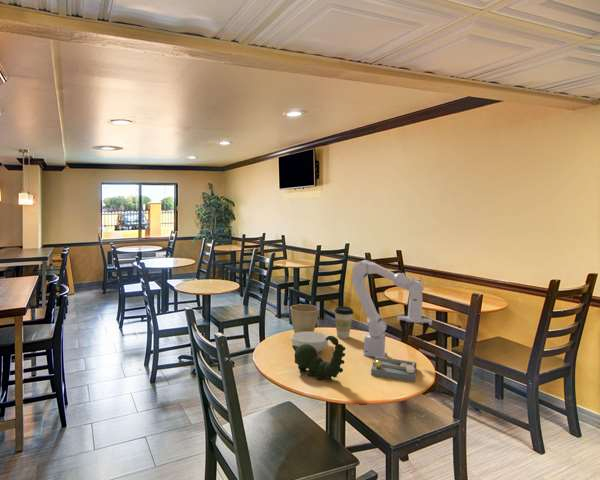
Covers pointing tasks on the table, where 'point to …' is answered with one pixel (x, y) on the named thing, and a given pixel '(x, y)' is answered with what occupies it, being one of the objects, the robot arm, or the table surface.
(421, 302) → the robot arm
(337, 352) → the toy figurine
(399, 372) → the grey divided tray
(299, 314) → the plant pot
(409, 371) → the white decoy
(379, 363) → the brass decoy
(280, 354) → the table surface
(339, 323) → the coffee cup
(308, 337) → the cereal bowl
